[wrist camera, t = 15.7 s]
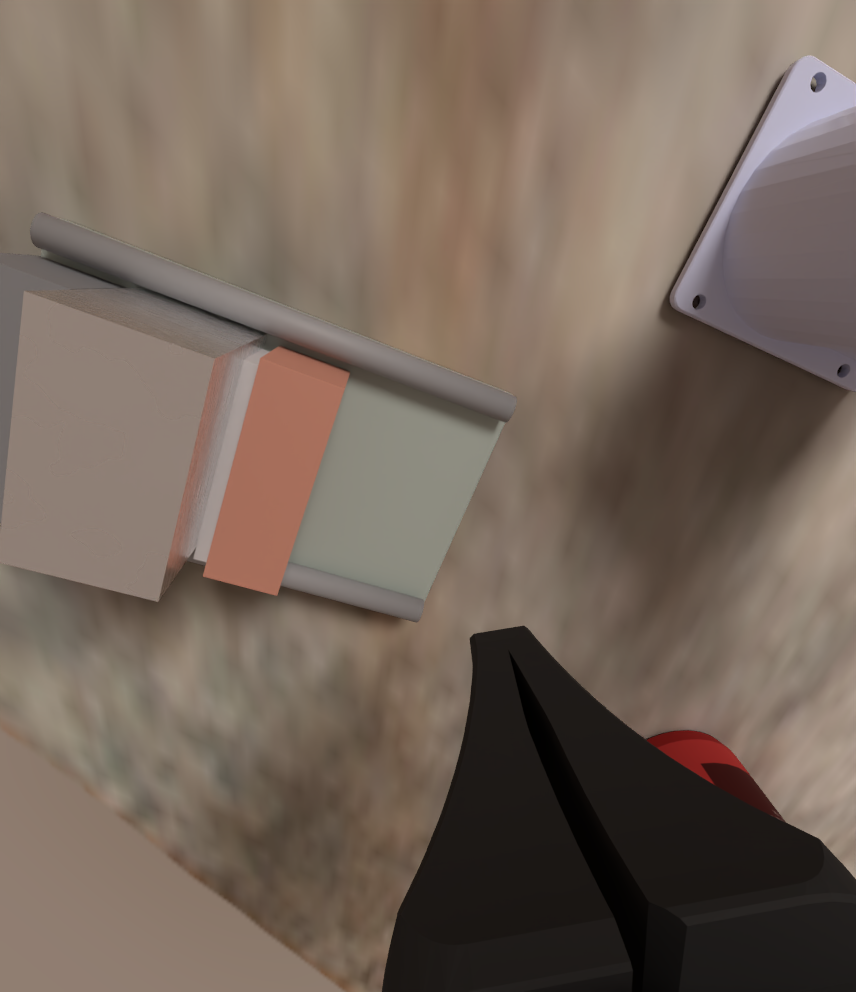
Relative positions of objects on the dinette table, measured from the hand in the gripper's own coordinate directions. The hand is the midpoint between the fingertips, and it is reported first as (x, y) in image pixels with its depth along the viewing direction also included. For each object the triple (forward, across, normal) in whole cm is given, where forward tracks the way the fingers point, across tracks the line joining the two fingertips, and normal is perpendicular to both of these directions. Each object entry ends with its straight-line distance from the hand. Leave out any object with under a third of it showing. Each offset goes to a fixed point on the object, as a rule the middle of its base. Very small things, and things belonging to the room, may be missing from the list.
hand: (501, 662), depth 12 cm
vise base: (+10, +9, -5) cm, 14 cm away
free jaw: (+9, +6, -3) cm, 11 cm away
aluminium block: (+9, +9, -6) cm, 14 cm away
